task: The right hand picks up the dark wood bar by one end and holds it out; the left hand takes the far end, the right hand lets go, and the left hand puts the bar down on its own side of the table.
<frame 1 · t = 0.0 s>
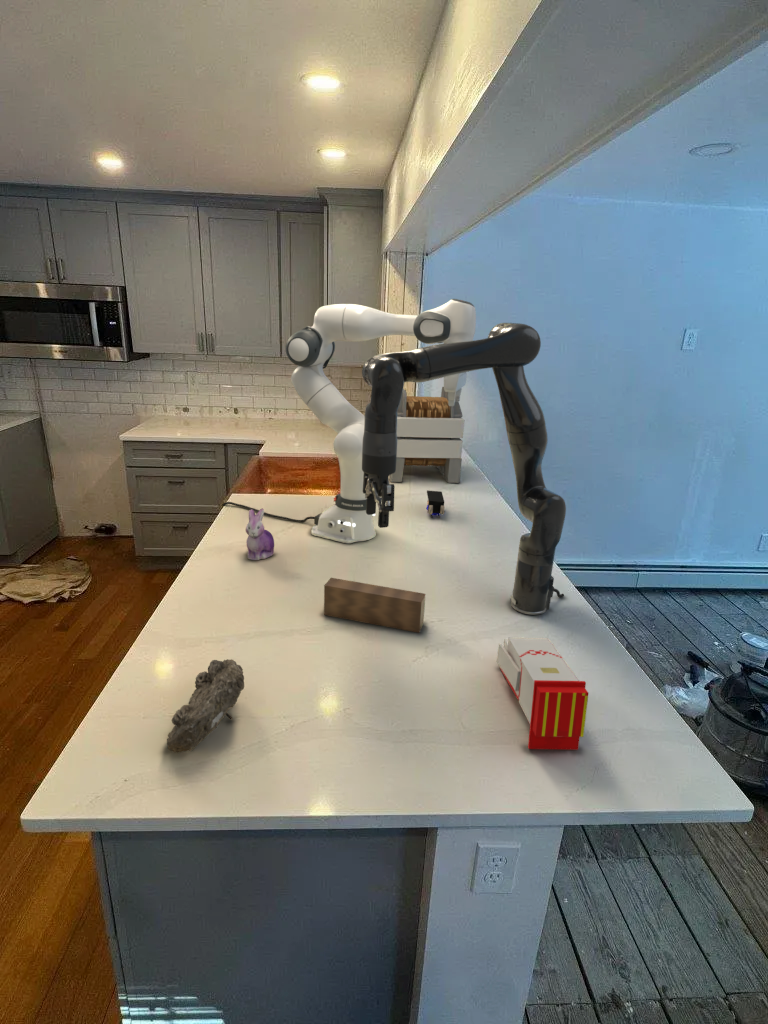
left hand: (454, 403, 174), 48 cm above the counter, tool pointing down, fingers open, 8 cm apart
right hand: (376, 520, 129), 29 cm above the counter, tool pointing down, fingers open, 8 cm apart
toy: (532, 701, 116), on the counter
figurine: (260, 555, 178), on the counter
bar: (373, 619, 145), on the counter
fossil: (212, 717, 108), on the counter
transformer: (419, 473, 275), on the counter
figurine character: (434, 514, 221), on the counter
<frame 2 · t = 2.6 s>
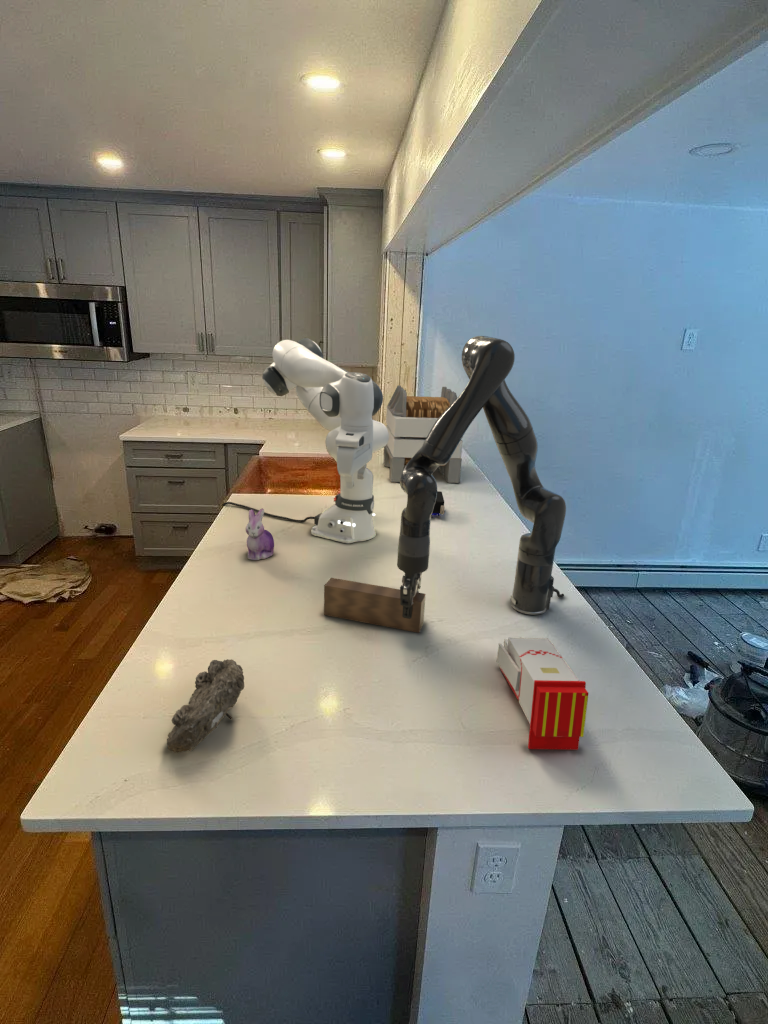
left hand: (355, 483, 159), 28 cm above the counter, tool pointing down, fingers open, 8 cm apart
right hand: (409, 612, 141), 4 cm above the counter, tool pointing down, fingers closed on bar, 4 cm apart
bar: (373, 619, 145), on the counter, touching right hand
everything else where it was.
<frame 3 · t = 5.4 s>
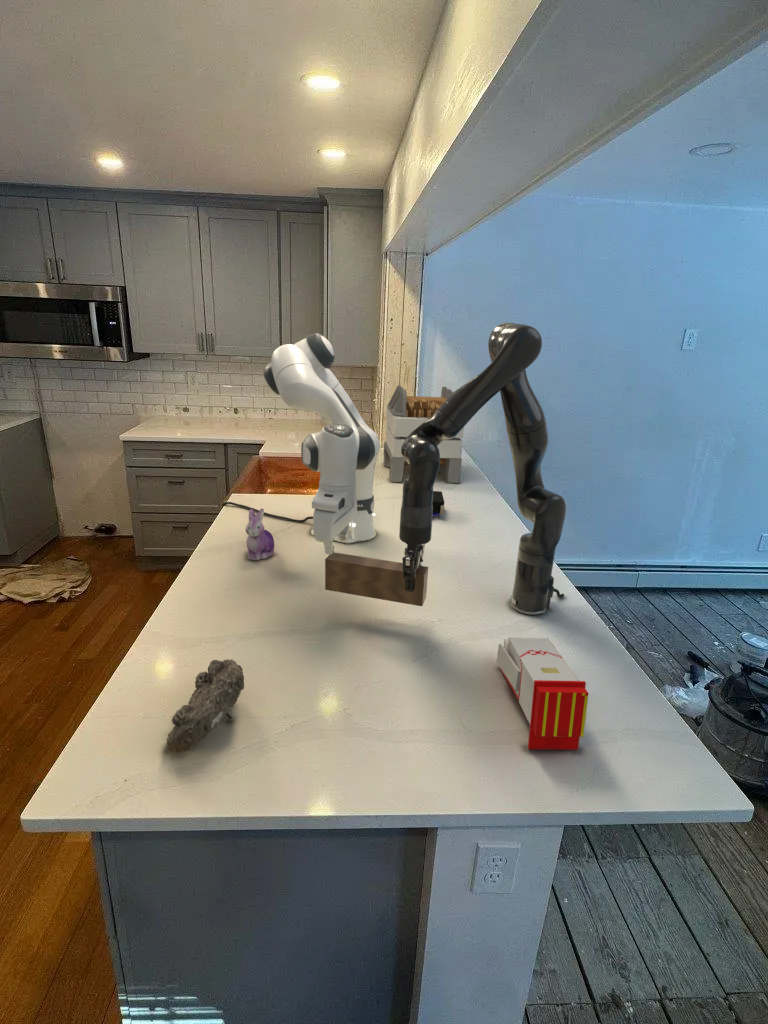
left hand: (336, 546, 141), 19 cm above the counter, tool pointing down, fingers open, 8 cm apart
right hand: (412, 585, 139), 11 cm above the counter, tool pointing down, fingers closed on bar, 4 cm apart
bar: (375, 593, 142), point 7 cm above the counter, touching right hand
everything else where it was.
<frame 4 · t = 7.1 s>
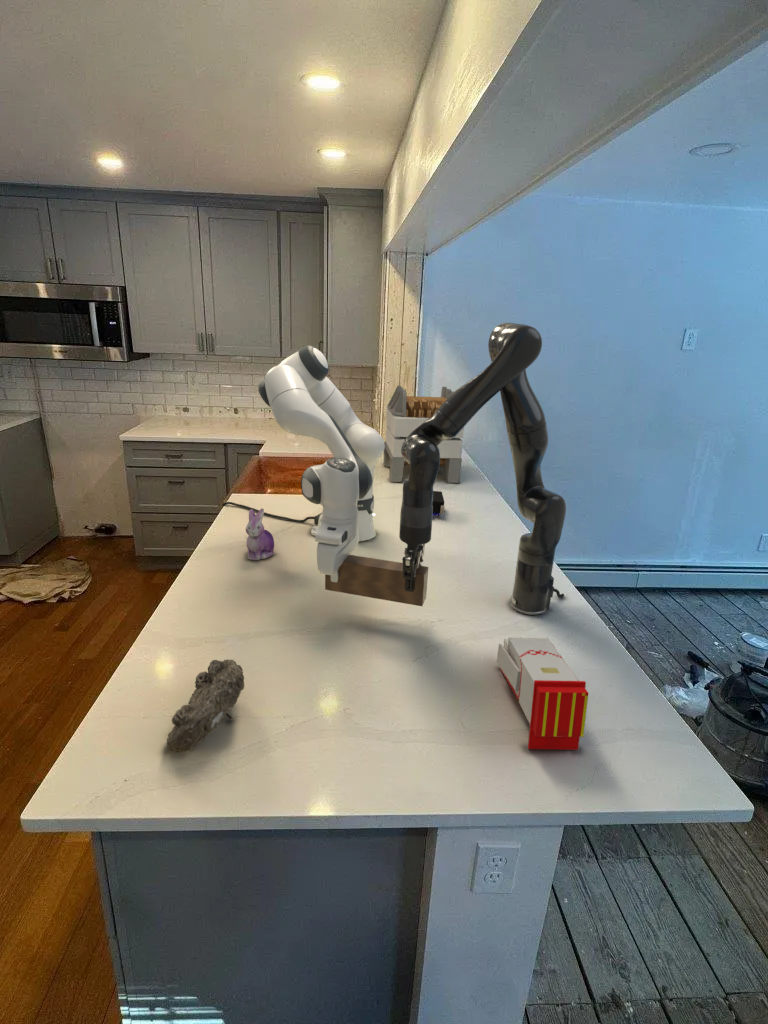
left hand: (339, 575, 143), 11 cm above the counter, tool pointing down, fingers closed on bar, 5 cm apart
right hand: (412, 585, 139), 11 cm above the counter, tool pointing down, fingers closed on bar, 4 cm apart
bar: (375, 593, 142), point 7 cm above the counter, touching left hand, right hand
everything else where it was.
when the right hand's fingers open (11 cm above the counter, at t = 8.0 s): bar stays where it is, held by the left hand.
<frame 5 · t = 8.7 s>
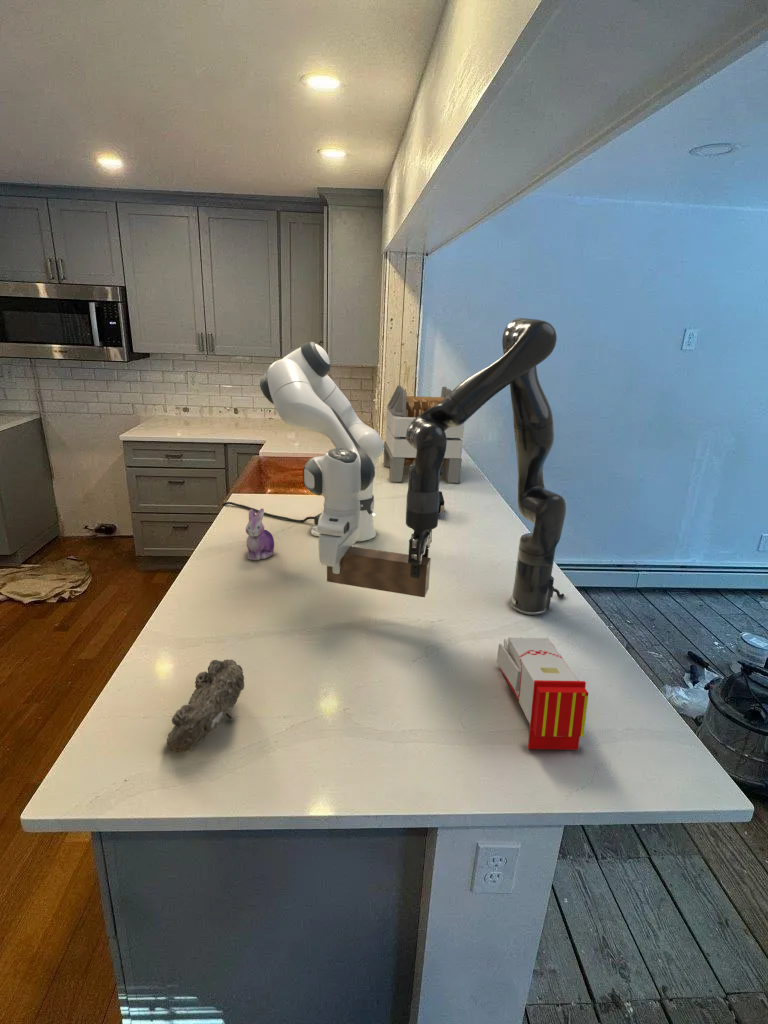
left hand: (341, 567, 143), 13 cm above the counter, tool pointing down, fingers closed on bar, 5 cm apart
right hand: (419, 569, 137), 16 cm above the counter, tool pointing down, fingers open, 8 cm apart
bar: (377, 585, 141), point 10 cm above the counter, touching left hand
everything else where it was.
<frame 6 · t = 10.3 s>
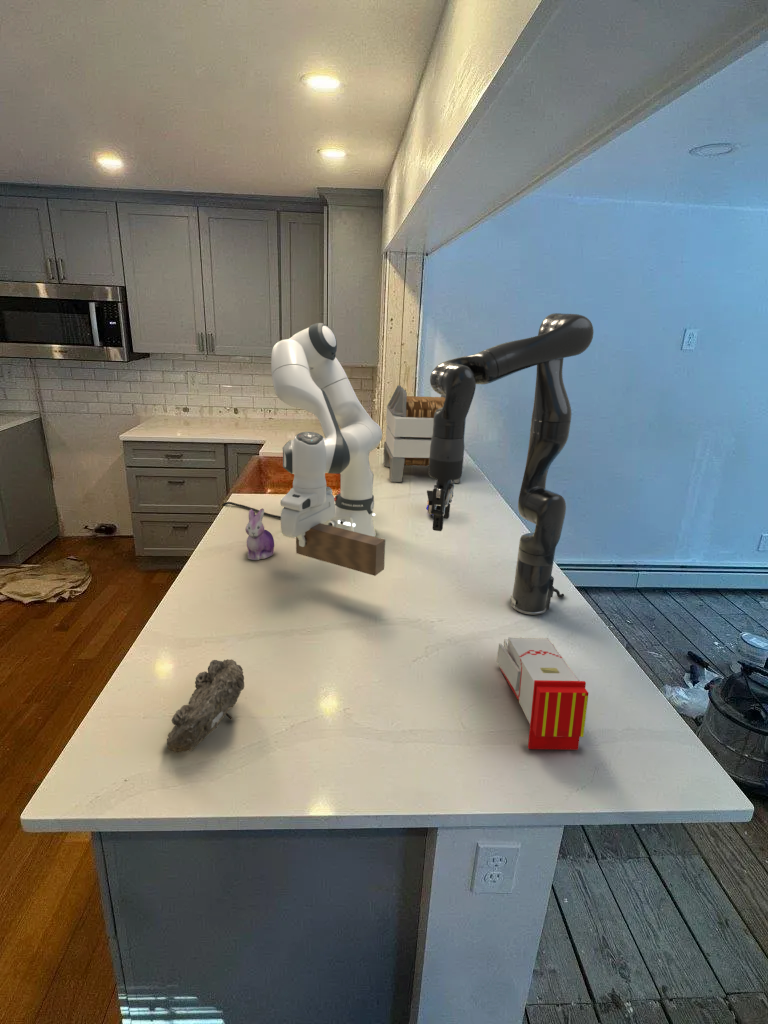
left hand: (309, 542, 155), 13 cm above the counter, tool pointing down, fingers closed on bar, 5 cm apart
right hand: (440, 524, 131), 28 cm above the counter, tool pointing down, fingers open, 8 cm apart
bar: (339, 561, 152), point 10 cm above the counter, touching left hand
everything else where it was.
when the left hand's fingers open (5 cm above the counter, at t = 11.7 s): bar drops 1 cm, on the counter.
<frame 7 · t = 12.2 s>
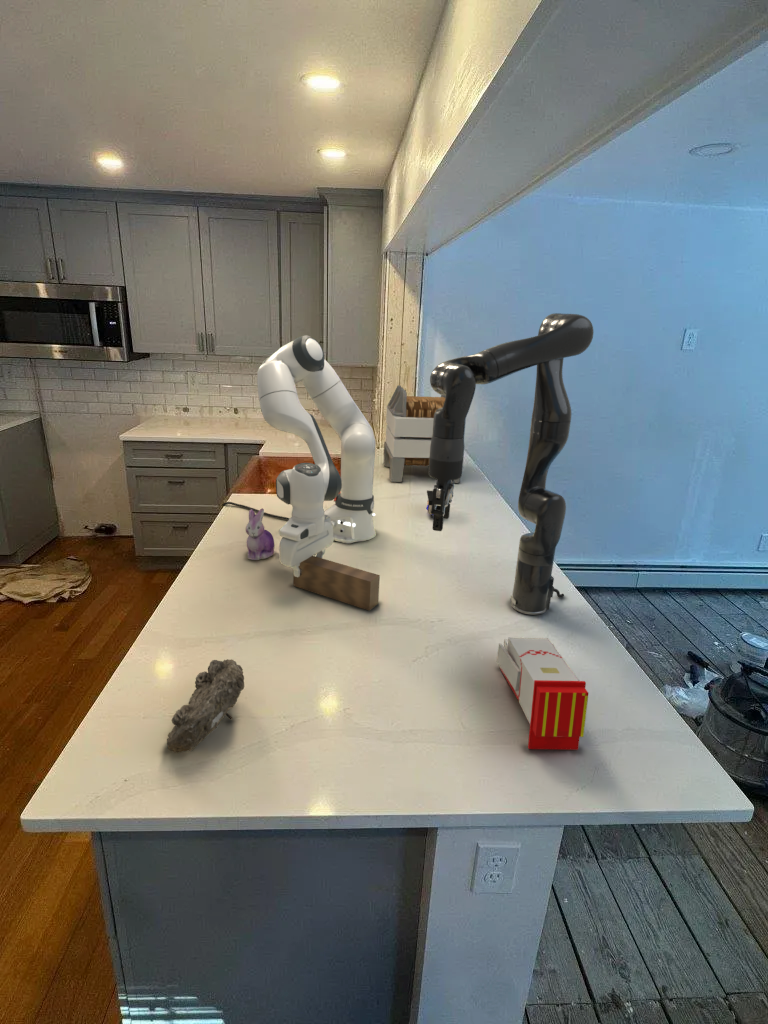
left hand: (308, 569, 158), 5 cm above the counter, tool pointing down, fingers open, 8 cm apart
right hand: (440, 524, 131), 28 cm above the counter, tool pointing down, fingers open, 8 cm apart
bar: (334, 594, 156), on the counter
everything else where it was.
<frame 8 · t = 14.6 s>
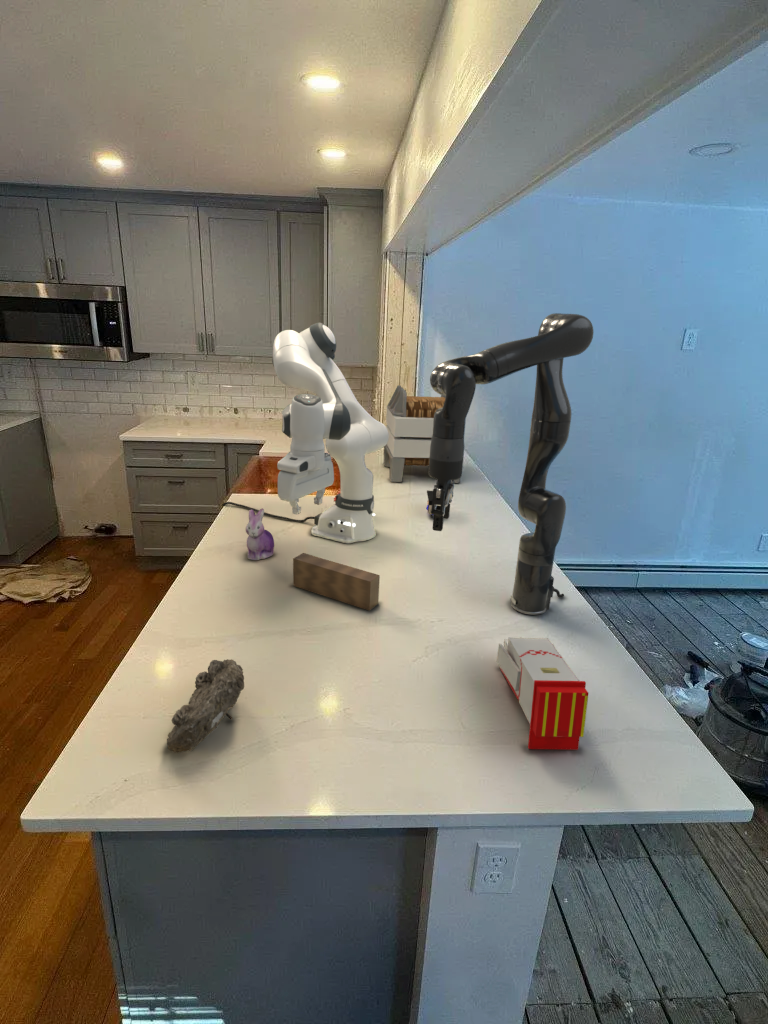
left hand: (307, 508, 152), 23 cm above the counter, tool pointing down, fingers open, 8 cm apart
right hand: (440, 524, 131), 28 cm above the counter, tool pointing down, fingers open, 8 cm apart
nothing on the counter moved.
at the end: bar inside the target area (9.1 cm from its centre), on the counter; the left hand is holding nothing; the right hand is holding nothing; bar at rest at the end (0.0 cm/s) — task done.
